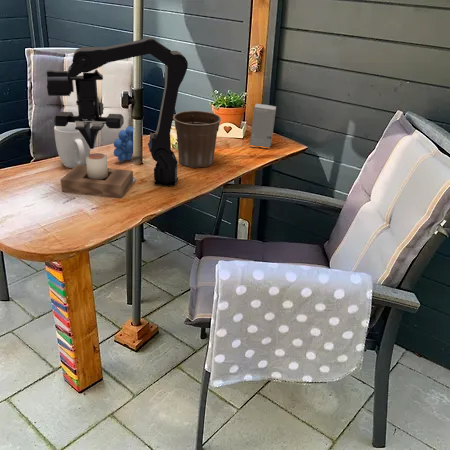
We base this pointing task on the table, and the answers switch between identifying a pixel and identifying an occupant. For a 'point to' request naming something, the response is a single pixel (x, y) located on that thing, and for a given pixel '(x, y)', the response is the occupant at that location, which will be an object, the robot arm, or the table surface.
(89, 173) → the cream short cylinder
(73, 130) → the mug
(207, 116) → the plant pot
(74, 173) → the brown wooden block
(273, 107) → the skincare box
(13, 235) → the table surface
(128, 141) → the grapes
